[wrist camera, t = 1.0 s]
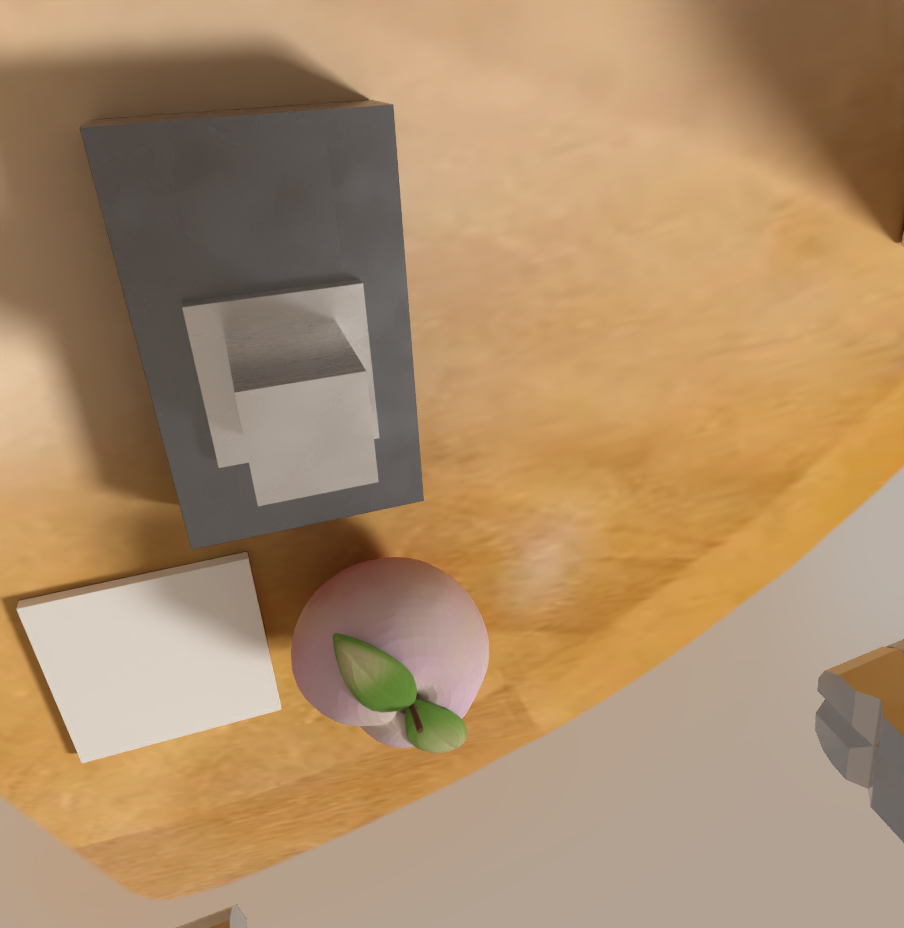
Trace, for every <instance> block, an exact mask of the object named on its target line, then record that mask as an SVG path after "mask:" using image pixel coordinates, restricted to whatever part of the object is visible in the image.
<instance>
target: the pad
mask: <svg viewBox="0 0 904 928" xmlns="http://www.w3.org/2000/svg"><path fill="white" fill-rule="evenodd" d="M16 610H17V612H18V614H19V617H20V619H21V621H22V624H23V626H24V628H25V631H26V633H27V635H28V638H29V640H30V643H31V645H32V647H33V650H34V652H35V654H36V657H37V659H38V661H39V664H40V666H41V668H42V671H43V673H44V675H45V678H46V680H47V683H48V685H49V687H50V690H51V692H52V694H53V697H54V699H55V701H56V704H57V706H58V708H59V711H60V713H61V715H62V718H63V720H64V723H65V725H66V727H67V730H68V732H69V734H70V737H71V739H72V741H73V744H74V746H75V748H76V751H77V753H78V755H79V758H80V760H81V763H85V762H89V761H92V760H96V759H100V758H104V757H107V756H111V755H115V754H118V753H122V752H126V751H130V750H133V749H137V748H141V747H144V746H148V745H152V744H156V743H159V742H163V741H167V740H170V739H174V738H178V737H181V736H185V735H189V734H193V733H196V732H200V731H204V730H207V729H211V728H215V727H219V726H222V725H226V724H230V723H233V722H237V721H241V720H245V719H248V718H252V717H256V716H259V715H263V714H267V713H271V712H274V711H278V710H282V709H281V703H280V698H279V693H278V689H277V684H276V680H275V675H274V671H273V666H272V662H271V657H270V653H269V648H268V644H267V639H266V635H265V630H264V626H263V621H262V617H261V612H260V608H259V603H258V599H257V594H256V589H255V585H254V580H253V576H252V571H251V567H250V562H249V558H248V553H247V552H243V553H238V554H234V555H229V556H225V557H220V558H215V559H211V560H206V561H201V562H197V563H192V564H187V565H183V566H178V567H173V568H169V569H164V570H159V571H155V572H150V573H146V574H141V575H136V576H132V577H127V578H122V579H118V580H113V581H108V582H104V583H99V584H94V585H90V586H85V587H80V588H76V589H71V590H67V591H62V592H57V593H53V594H48V595H43V596H39V597H34V598H29V599H25V600H20V601H18V605H17V608H16Z"/></svg>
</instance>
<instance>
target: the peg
mask: <svg viewBox="0 0 904 928" xmlns="http://www.w3.org/2000/svg"><path fill="white" fill-rule="evenodd" d="M182 309H183V314H184V318H185V322H186V327H187V331H188V335H189V340H190V344H191V349H192V353H193V357H194V362H195V366H196V370H197V375H198V379H199V384H200V388H201V392H202V397H203V401H204V406H205V410H206V414H207V419H208V423H209V427H210V432H211V436H212V441H213V445H214V449H215V454H216V458H217V462H218V467H219V468H222V467H227V466H232V465H238V464H243V463H249V465H250V470H251V475H252V480H253V485H254V490H255V495H256V500H257V504H258V506H262V505H267V504H272V503H277V502H282V501H287V500H292V499H297V498H302V497H307V496H312V495H317V494H322V493H327V492H332V491H337V490H342V489H347V488H352V487H357V486H362V485H367V484H372V483H377V482H379V481H378V471H377V462H376V453H375V444H374V439H377V438H379V429H378V419H377V410H376V400H375V391H374V382H373V372H372V363H371V353H370V344H369V334H368V325H367V315H366V306H365V297H364V287H363V283H362V281H361V280H360V279H358V280H351V281H343V282H336V283H328V284H320V285H313V286H305V287H298V288H290V289H282V290H275V291H267V292H260V293H252V294H244V295H237V296H229V297H222V298H214V299H206V300H199V301H191V302H184V303H182Z"/></svg>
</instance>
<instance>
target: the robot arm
mask: <svg viewBox="0 0 904 928" xmlns="http://www.w3.org/2000/svg"><path fill="white" fill-rule="evenodd" d="M818 692H819V693H820V694H821V695H822V696H823V697H824V698H825V700H824V702H823V703H822V705H821V706H820V708H819V709H818V711H817V712H816V723H815V726H816V727H815V730H816V733H817V736H818V738H819V741H820V744H821V746H822V749H823V751H824V752H825V754H826V755H827V757H828V758H829V760H830V761H831V763H832V764H833V765H834V767H835V768H836V769H837V770H838V771H839V772H840V773H841V774H842V776H843V777H844V778H845V779H846V780H849V781H851V782H854V783H856V784H858V785H861V786H863V787H866V788H868V792H869V798H870V805H871V808H872V809H873V810H874V811H875V812H876V813H877V814H878V815H879V816H880V817H881V818H882V820H883V821H884V822H885V823H886V824H887V825H888V826H889V827H890V828H891V829H892V830H893V832H894V833H895V834H896V835H897V836H898V837H899V838H900V839H901V840H902V841H903V842H904V639H903V640H901V641H898V642H896V643H894V644H891V645H889V646H886V647H881V648H878V649H876V650H874V651H871V652H869V653H866V654H864V655H862V656H859V657H857V658H855V659H852V660H850V661H847V662H845V663H843V664H840V665H838V666H835V667H833V668H830V669H828V670H826V671H824V672H823V673H822V675H821V676H820V677H819V681H818ZM176 928H247V918H246V916H245V915H244V914H243V912H242V911H241V909H240V908H239V906H238V905H237V904H236V905H234V906H231V907H229V908H226V909H223V910H221V911H218V912H216V913H213V914H211V915H208V916H205V917H203V918H200V919H197V920H195V921H192V922H189V923H187V924H184V925H181V926H179V927H176Z"/></svg>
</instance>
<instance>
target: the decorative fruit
mask: <svg viewBox="0 0 904 928" xmlns="http://www.w3.org/2000/svg"><path fill="white" fill-rule="evenodd" d="M291 660H292V671H293V674H294V677H295V680H296V683H297V686H298V688H299V689H300V691H301V693H302V694H303V695H304V697H305V698H306V699H307V700H308V701H309V702H310V703H311V704H312V705H313V706H314V707H315V708H316V709H317V710H318V711H320V712H321V713H322V714H324V715H325V716H327V717H329V718H330V719H332V720H334V721H337V722H339V723H342V724H347V725H352V726H360V727H361V728H362V729H363V730H364V731H365V732H366V733H367V734H369V735H370V736H371V737H373V738H374V739H375V740H377V741H379V742H381V743H383V744H386V745H388V746H393V747H413V746H415V747H416V748H418V749H420V750H423V751H427V752H431V753H442V752H448V751H451V750H453V749H456V748H458V747H460V746H461V745H462V744H463V743H464V742H465V739H466V735H467V730H466V726H465V723H464V722H463V720H462V718H463V717H464V716H465V714H466V712H467V711H468V709H469V708H470V706H471V704H472V702H473V700H474V698H475V697H476V694H477V692H478V690H479V688H480V686H481V684H482V682H483V680H484V677H485V674H486V671H487V667H488V661H489V640H488V634H487V630H486V627H485V624H484V621H483V619H482V616H481V614H480V612H479V610H478V608H477V606H476V605H475V603H474V601H473V600H472V598H471V597H470V595H469V594H468V592H467V591H466V590H465V589H464V588H463V587H462V586H461V585H460V584H459V583H458V582H457V581H456V580H455V579H454V578H452V577H451V576H450V575H448V574H447V573H445V572H443V571H442V570H440V569H438V568H436V567H434V566H432V565H430V564H428V563H425V562H422V561H419V560H415V559H409V558H398V557H394V558H381V559H374V560H369V561H365V562H361V563H358V564H355V565H352V566H350V567H348V568H346V569H344V570H342V571H341V572H339V573H337V574H336V575H334V576H333V577H332V578H330V579H329V580H328V581H326V582H325V583H324V584H323V585H322V586H321V587H319V588H318V589H317V591H316V592H315V593H314V594H313V595H312V596H311V597H310V599H309V600H308V602H307V603H306V605H305V607H304V609H303V610H302V612H301V614H300V616H299V619H298V621H297V624H296V626H295V630H294V635H293V639H292V649H291Z"/></svg>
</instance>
